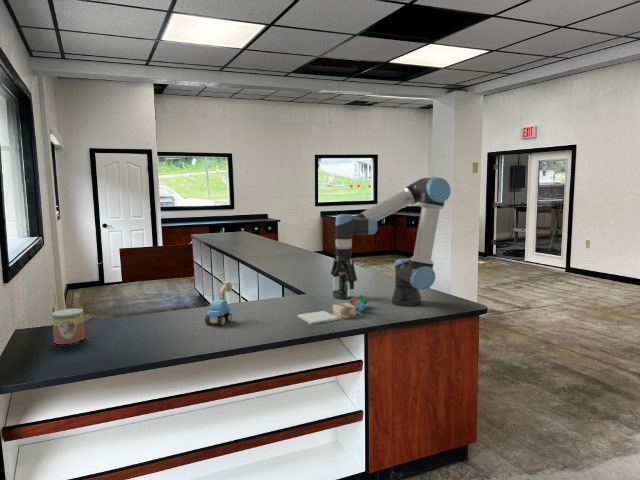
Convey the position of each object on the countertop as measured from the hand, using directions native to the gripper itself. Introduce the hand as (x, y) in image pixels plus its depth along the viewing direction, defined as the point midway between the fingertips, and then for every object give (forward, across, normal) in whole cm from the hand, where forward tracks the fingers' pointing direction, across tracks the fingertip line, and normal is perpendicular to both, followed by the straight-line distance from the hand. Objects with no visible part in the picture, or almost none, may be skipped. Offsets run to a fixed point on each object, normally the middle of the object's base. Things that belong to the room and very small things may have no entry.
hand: (343, 292), depth 224 cm
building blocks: (+11, -5, +13) cm, 17 cm away
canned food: (+13, -23, -114) cm, 117 cm away
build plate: (+11, -2, -12) cm, 17 cm away
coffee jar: (+11, -32, +18) cm, 38 cm away
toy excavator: (+12, -20, -52) cm, 57 cm away
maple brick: (+11, 0, 0) cm, 11 cm away
